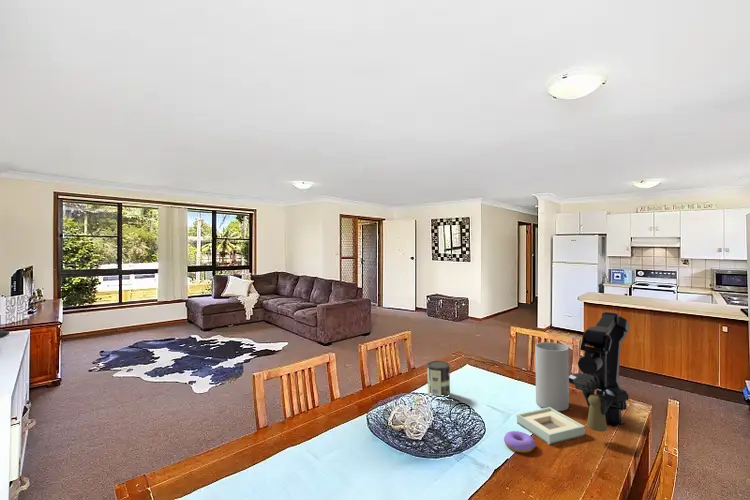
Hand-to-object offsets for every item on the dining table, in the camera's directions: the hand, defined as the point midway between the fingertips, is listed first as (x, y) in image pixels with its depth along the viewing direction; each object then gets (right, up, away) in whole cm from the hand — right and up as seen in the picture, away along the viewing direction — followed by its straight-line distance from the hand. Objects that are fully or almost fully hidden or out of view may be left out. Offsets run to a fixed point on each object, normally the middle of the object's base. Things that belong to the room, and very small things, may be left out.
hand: (596, 411), depth 127 cm
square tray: (-12, -11, +9) cm, 18 cm away
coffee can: (-48, -11, +41) cm, 64 cm away
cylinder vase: (-2, -10, +28) cm, 30 cm away
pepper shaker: (0, -6, 0) cm, 6 cm away
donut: (-27, -12, -2) cm, 30 cm away
